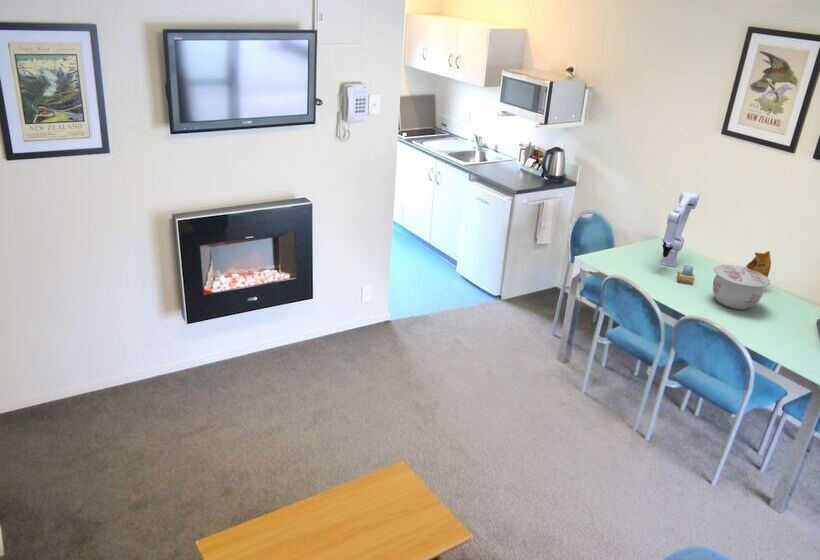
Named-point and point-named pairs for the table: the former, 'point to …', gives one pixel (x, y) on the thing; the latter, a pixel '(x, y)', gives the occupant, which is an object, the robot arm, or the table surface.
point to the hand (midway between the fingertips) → (664, 254)
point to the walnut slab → (684, 281)
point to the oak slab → (685, 277)
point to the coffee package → (761, 263)
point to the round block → (687, 270)
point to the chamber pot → (738, 286)
